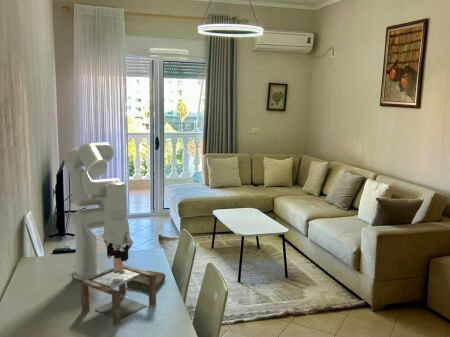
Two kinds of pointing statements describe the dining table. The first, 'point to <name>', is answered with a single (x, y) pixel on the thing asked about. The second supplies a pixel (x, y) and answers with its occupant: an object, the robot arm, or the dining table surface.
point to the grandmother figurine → (117, 259)
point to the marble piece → (146, 282)
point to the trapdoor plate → (113, 278)
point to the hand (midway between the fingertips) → (117, 257)
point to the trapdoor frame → (118, 297)
